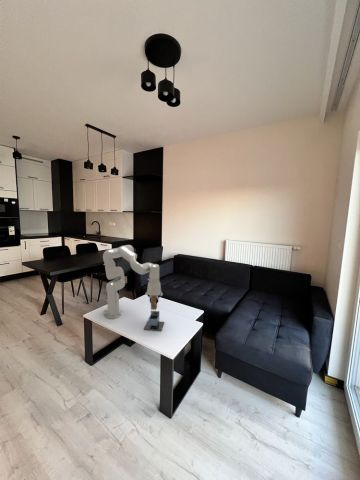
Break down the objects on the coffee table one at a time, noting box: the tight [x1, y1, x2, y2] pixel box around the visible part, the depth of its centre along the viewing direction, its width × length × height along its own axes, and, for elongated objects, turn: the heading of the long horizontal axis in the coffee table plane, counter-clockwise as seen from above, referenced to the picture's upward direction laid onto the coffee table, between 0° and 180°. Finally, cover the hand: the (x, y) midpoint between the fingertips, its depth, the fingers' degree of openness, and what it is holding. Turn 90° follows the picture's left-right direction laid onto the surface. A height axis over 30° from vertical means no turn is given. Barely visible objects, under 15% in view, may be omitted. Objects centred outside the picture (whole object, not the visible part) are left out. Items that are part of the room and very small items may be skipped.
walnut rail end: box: [150, 295, 158, 311], centre depth 153 cm, size 4×4×12 cm
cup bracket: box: [143, 309, 165, 332], centre depth 156 cm, size 14×12×12 cm
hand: (154, 302), depth 153 cm, fingers closed on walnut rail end, 4 cm apart
